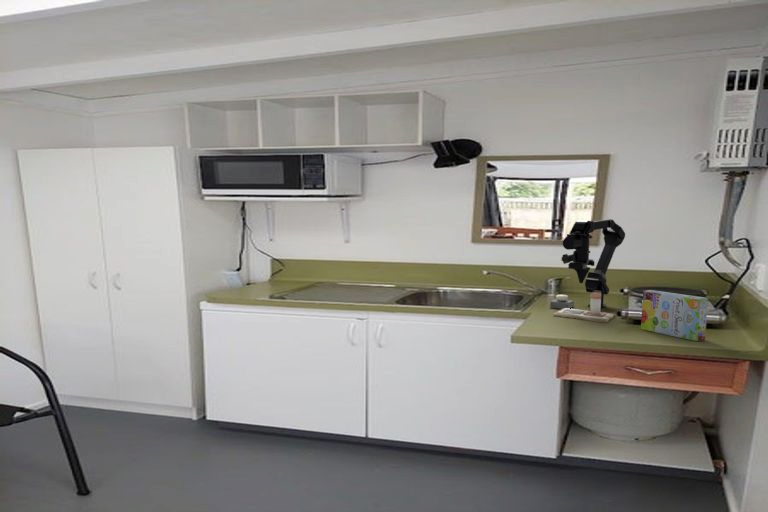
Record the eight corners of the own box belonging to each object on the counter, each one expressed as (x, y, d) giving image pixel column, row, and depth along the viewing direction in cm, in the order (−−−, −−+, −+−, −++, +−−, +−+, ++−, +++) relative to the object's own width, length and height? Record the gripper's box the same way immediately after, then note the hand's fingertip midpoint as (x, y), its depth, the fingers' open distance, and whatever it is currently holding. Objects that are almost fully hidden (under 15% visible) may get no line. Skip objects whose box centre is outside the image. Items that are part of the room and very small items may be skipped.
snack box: (706, 340, 176) (709, 297, 175) (697, 342, 174) (699, 299, 172) (648, 327, 195) (650, 288, 193) (639, 329, 192) (641, 290, 190)
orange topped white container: (591, 312, 215) (592, 291, 214) (601, 314, 212) (602, 292, 211) (588, 314, 212) (589, 293, 211) (599, 315, 209) (599, 294, 208)
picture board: (564, 310, 227) (564, 307, 227) (614, 316, 214) (614, 313, 214) (553, 315, 215) (553, 312, 215) (605, 322, 203) (605, 319, 202)
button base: (556, 305, 238) (556, 298, 238) (573, 307, 234) (573, 300, 233) (550, 307, 232) (550, 301, 232) (567, 309, 227) (568, 303, 227)
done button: (558, 304, 236) (558, 294, 236) (569, 306, 233) (569, 295, 233) (554, 306, 232) (554, 295, 232) (565, 307, 229) (565, 296, 229)
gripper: (570, 246, 238) (569, 279, 240) (557, 249, 224) (556, 283, 225) (595, 247, 232) (594, 281, 233) (583, 250, 217) (581, 286, 218)
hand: (581, 283), depth 228 cm, fingers closed
